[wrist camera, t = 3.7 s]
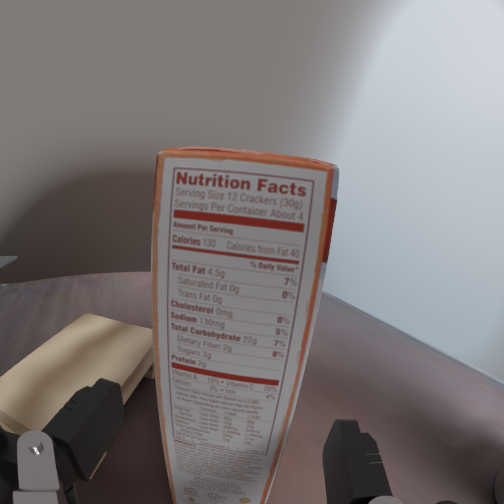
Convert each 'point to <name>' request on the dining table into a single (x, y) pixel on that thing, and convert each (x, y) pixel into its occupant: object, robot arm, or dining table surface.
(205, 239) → the cracker box
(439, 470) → the dining table surface
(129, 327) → the birch stand
